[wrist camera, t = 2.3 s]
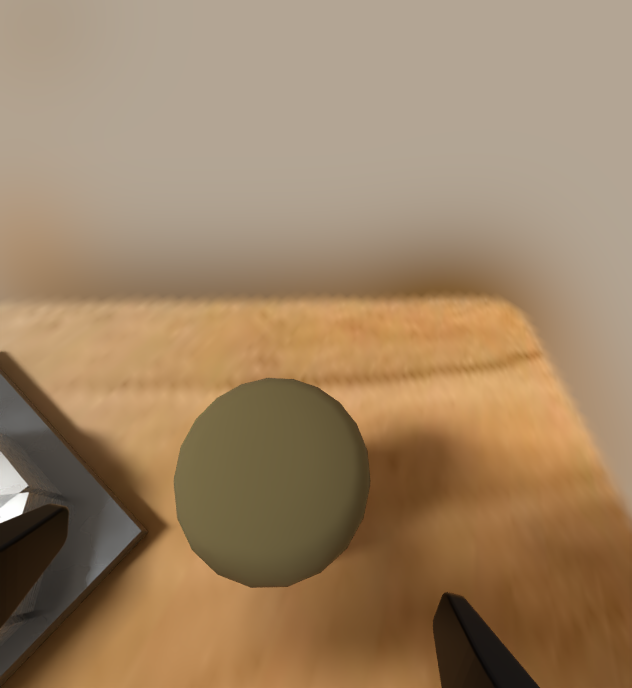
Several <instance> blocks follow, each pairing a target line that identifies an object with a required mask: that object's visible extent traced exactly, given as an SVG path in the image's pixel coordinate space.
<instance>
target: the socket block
mask: <svg viewBox="0 0 632 688" xmlns="http://www.w3.org/2000/svg"><path fill="white" fill-rule="evenodd" d="M50 503H53V504H58V505H62V506H66V507H68V509H69V522H68V536H67V539H66V542H65V544H64V545H63V547H62V548H61V550H60V551H59V552H58V554H57V555H56V556H55V558H54V559H53V560H52V562H51V563H50V564H49V566H48V567H47V568H46V570H45V571H44V572H43V574H42V575H41V576H40V578H39V579H38V580H37V582H36V583H35V584H34V586H33V587H32V588H31V590H30V591H29V592H28V594H27V595H26V596H25V598H24V599H23V600H22V602H21V603H20V604H19V606H18V607H17V608H16V610H15V611H14V612H13V614H12V615H11V616H10V617H9V619H8V620H7V621H6V622H5V624H4V625H3V626H2V627H1V628H0V687H1V686H2V685H3V684H4V683H5V682H6V681H7V680H8V679H9V678H10V677H11V676H12V675H13V674H14V672H15V671H16V670H17V669H18V668H19V667H20V666H21V665H22V664H23V663H24V662H25V661H26V660H27V659H28V658H29V657H30V656H31V655H32V654H33V653H34V651H35V650H36V649H37V648H38V647H39V646H40V645H41V644H42V643H43V642H44V641H45V640H46V639H47V638H48V637H49V636H50V635H51V634H52V633H53V632H54V631H55V629H56V628H57V627H58V626H59V625H60V624H61V623H62V622H63V621H64V620H65V619H66V618H67V617H68V616H69V615H70V614H71V613H72V612H73V611H74V610H75V608H76V607H77V606H78V605H79V604H80V603H81V602H82V601H83V600H84V599H85V598H86V597H87V596H88V595H89V594H90V593H91V592H92V591H93V590H94V589H95V588H96V586H97V585H98V584H99V583H100V582H101V581H102V580H103V579H104V578H105V577H106V576H107V575H108V574H109V573H110V572H111V571H112V570H113V569H114V568H115V567H116V565H117V564H118V563H119V562H120V561H121V560H122V559H123V558H124V557H125V556H126V555H127V554H128V553H129V552H130V551H131V550H132V549H133V548H134V547H135V546H136V544H137V543H138V542H139V541H140V540H141V539H142V538H143V537H144V536H145V535H146V534H147V533H148V531H147V530H146V529H145V528H144V527H143V526H142V524H141V523H140V522H139V521H138V520H137V519H136V518H135V517H134V516H133V514H132V513H131V512H130V511H129V510H128V509H127V508H126V507H125V506H124V505H123V503H122V502H121V501H120V500H119V499H118V498H117V497H116V496H115V495H114V493H113V492H112V491H111V490H110V489H109V488H108V487H107V486H106V485H105V484H104V482H103V481H102V480H101V479H100V478H99V477H98V476H97V475H96V474H95V472H94V471H93V470H92V469H91V468H90V467H89V466H88V465H87V464H86V462H85V461H84V460H83V459H82V458H81V457H80V456H79V455H78V454H77V453H76V451H75V450H74V449H73V448H72V447H71V446H70V445H69V444H68V443H67V441H66V440H65V439H64V438H63V437H62V436H61V435H60V434H59V433H58V432H57V430H56V429H55V428H54V427H53V426H52V425H51V424H50V423H49V422H48V420H47V419H46V418H45V417H44V416H43V415H42V414H41V413H40V412H39V410H38V409H37V408H36V407H35V406H34V405H33V404H32V403H31V402H30V401H29V399H28V398H27V397H26V396H25V395H24V394H23V393H22V392H21V391H20V389H19V388H18V387H17V386H16V385H15V384H14V383H13V382H12V381H11V380H10V378H9V377H8V376H7V375H6V374H5V373H4V372H3V371H2V370H1V368H0V523H1V522H4V521H6V520H9V519H11V518H14V517H16V516H19V515H21V514H24V513H26V512H28V511H31V510H33V509H36V508H38V507H41V506H43V505H46V504H50Z"/></svg>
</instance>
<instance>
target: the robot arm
mask: <svg viewBox="0 0 632 688" xmlns="http://www.w3.org/2000/svg"><path fill="white" fill-rule="evenodd" d="M68 522H69V509H68V507H66V506H62V505H58V504H53V503H50V504H46V505H43V506H41V507H38V508H36V509H33V510H31V511H28V512H26V513H24V514H21V515H19V516H16V517H14V518H11V519H9V520H6V521H4V522H1V523H0V628H1V627H2V626H3V625H4V624H5V622H6V621H7V620H8V619H9V617H10V616H11V615H12V614H13V612H14V611H15V610H16V608H17V607H18V606H19V604H20V603H21V602H22V600H23V599H24V598H25V596H26V595H27V594H28V592H29V591H30V590H31V588H32V587H33V586H34V584H35V583H36V582H37V580H38V579H39V578H40V576H41V575H42V574H43V572H44V571H45V570H46V568H47V567H48V566H49V564H50V563H51V562H52V560H53V559H54V558H55V556H56V555H57V554H58V552H59V551H60V550H61V548H62V547H63V545H64V544H65V542H66V539H67V536H68ZM433 633H434V639H435V646H436V653H437V660H438V666H439V673H440V680H441V686H442V688H540V687H539V686H538V685H537V684H536V682H535V681H534V680H533V679H532V678H531V676H530V675H529V674H528V673H527V672H526V670H525V669H524V668H523V667H522V666H521V665H520V663H519V662H518V661H517V660H516V659H515V657H514V656H513V655H512V654H511V653H510V651H509V650H508V649H507V648H506V647H505V645H504V644H503V643H502V642H501V641H500V640H499V638H498V637H497V636H496V635H495V634H494V632H493V631H492V630H491V629H490V628H489V626H488V625H487V624H486V623H485V622H484V620H483V619H482V618H481V617H480V616H479V614H478V613H477V612H476V611H475V610H474V609H473V607H472V606H471V605H470V604H469V603H468V601H467V600H466V599H465V598H464V597H463V596H461V595H457V594H453V593H448V592H445V593H444V594H443V595H442V597H441V600H440V603H439V605H438V608H437V611H436V614H435V616H434V620H433Z"/></svg>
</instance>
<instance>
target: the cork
mask: <svg viewBox="0 0 632 688" xmlns="http://www.w3.org/2000/svg"><path fill="white" fill-rule="evenodd" d="M369 487H370V473H369V463H368V452H367V448H366V446H365V444H364V441H363V439H362V436H361V434H360V431H359V429H358V426H357V424H356V423H355V421H354V420H353V419H352V418H351V416H350V415H349V414H348V413H347V411H346V410H345V409H344V407H343V406H342V405H341V404H340V402H338V401H337V400H335V399H334V398H332V397H331V396H330V395H328V394H327V393H325V392H324V391H322V390H321V389H320V388H318V387H315V386H312V385H309V384H306V383H303V382H300V381H297V380H294V379H276V378H266V379H262V380H258V381H254V382H250V383H245V384H241V385H240V386H238V387H236V388H234V389H232V390H231V391H229V392H227V393H225V394H224V395H222V396H220V397H218V398H217V399H216V400H215V401H214V402H213V403H212V404H211V405H210V406H209V407H208V408H207V409H206V410H205V411H204V412H203V413H202V414H201V415H200V416H199V417H198V418H197V419H196V420H195V422H194V424H193V426H192V427H191V429H190V431H189V433H188V435H187V437H186V438H185V440H184V442H183V444H182V446H181V448H180V453H179V458H178V462H177V467H176V472H175V476H174V490H175V500H176V510H177V519H178V521H179V523H180V525H181V527H182V529H183V531H184V534H185V536H186V538H187V540H188V542H189V544H190V546H191V548H192V550H193V551H194V552H195V553H196V554H197V555H198V556H199V557H200V558H201V559H202V560H203V561H204V562H205V563H206V564H207V565H208V566H209V567H210V568H211V569H213V570H214V571H215V572H216V573H217V574H218V575H220V576H223V577H225V578H228V579H230V580H233V581H236V582H238V583H241V584H243V585H246V586H248V587H251V588H256V587H288V586H290V585H293V584H295V583H297V582H300V581H302V580H304V579H307V578H309V577H311V576H314V575H316V574H319V573H321V572H322V571H323V570H324V569H325V568H326V567H327V566H328V565H329V564H330V563H331V562H333V561H334V560H335V559H336V558H337V557H338V556H339V555H340V554H341V553H342V552H343V551H344V550H345V549H347V547H348V545H349V543H350V541H351V540H352V538H353V536H354V534H355V532H356V530H357V529H358V527H359V525H360V523H361V521H362V520H363V517H364V512H365V507H366V502H367V497H368V492H369Z"/></svg>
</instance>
